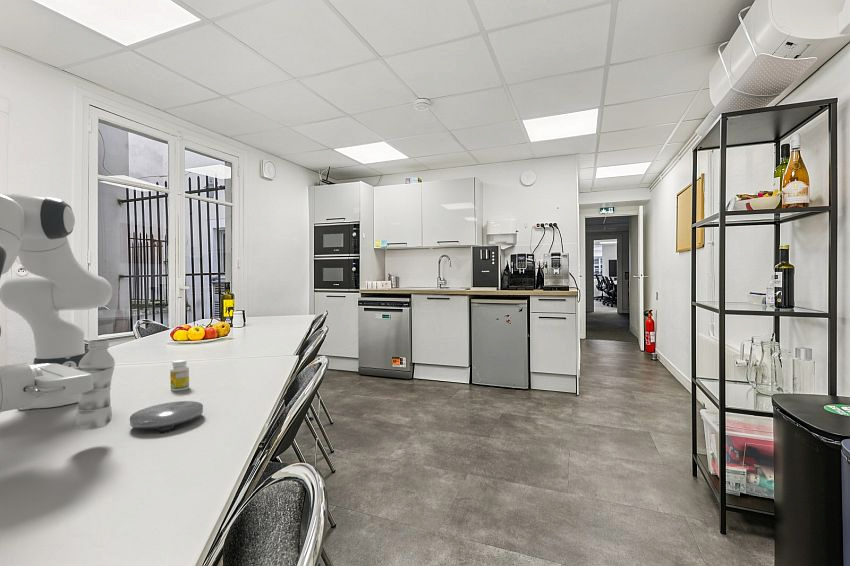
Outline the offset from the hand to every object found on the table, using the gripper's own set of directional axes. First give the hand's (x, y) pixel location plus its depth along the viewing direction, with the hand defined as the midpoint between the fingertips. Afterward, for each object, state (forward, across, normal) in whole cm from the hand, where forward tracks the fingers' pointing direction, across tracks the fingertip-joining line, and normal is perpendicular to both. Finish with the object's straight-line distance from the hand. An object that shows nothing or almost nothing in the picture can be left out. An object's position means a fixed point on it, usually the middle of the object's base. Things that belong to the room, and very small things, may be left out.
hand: (101, 371), depth 90 cm
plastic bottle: (-2, 0, +13) cm, 13 cm away
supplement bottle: (+32, +29, +17) cm, 46 cm away
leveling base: (+14, 0, +17) cm, 22 cm away
